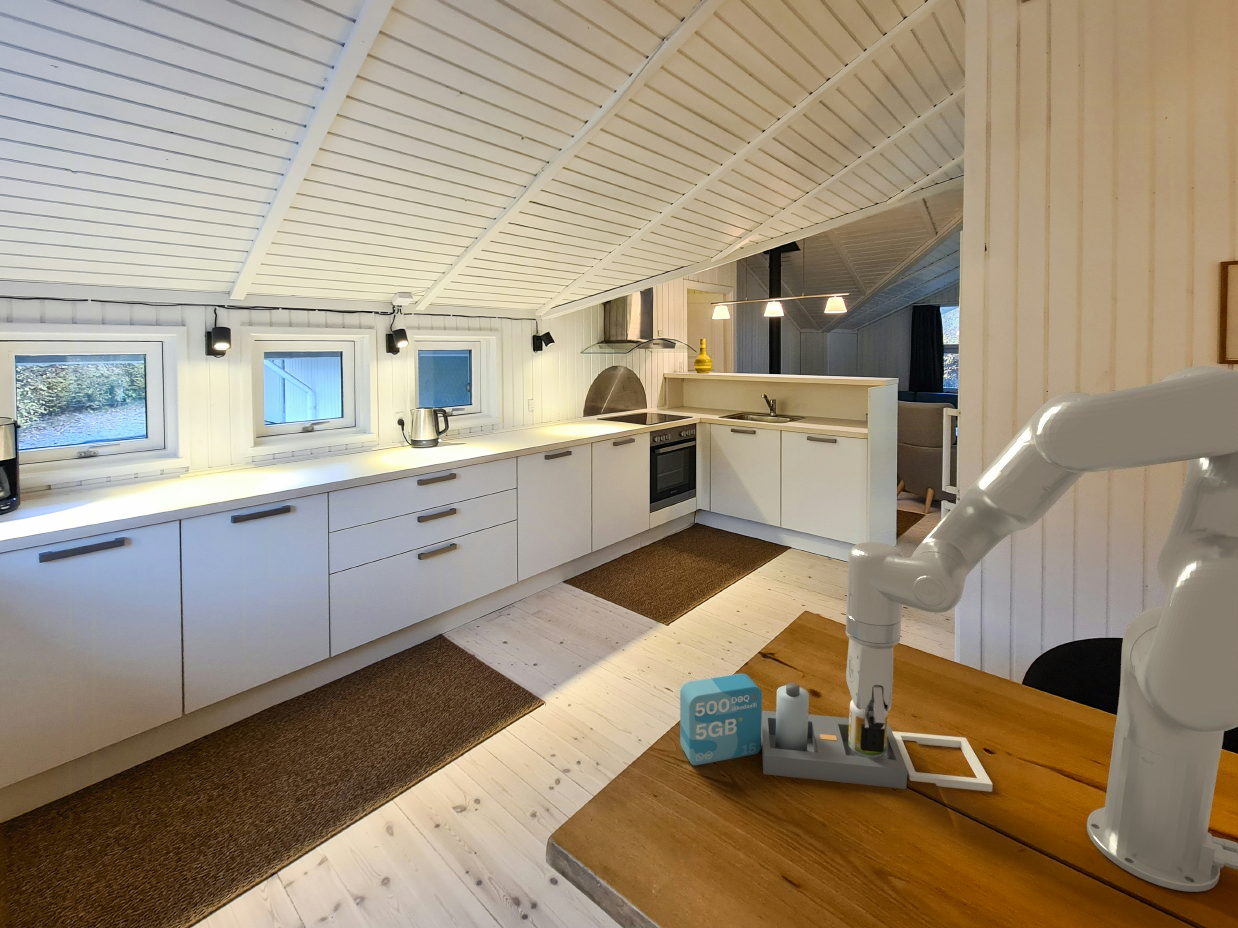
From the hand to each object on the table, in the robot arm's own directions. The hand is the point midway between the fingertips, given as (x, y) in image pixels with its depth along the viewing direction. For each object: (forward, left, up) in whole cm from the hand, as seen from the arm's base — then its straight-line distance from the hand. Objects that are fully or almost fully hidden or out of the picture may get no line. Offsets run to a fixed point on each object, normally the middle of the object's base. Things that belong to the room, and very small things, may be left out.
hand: (867, 736), depth 95 cm
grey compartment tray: (+5, +2, -4) cm, 7 cm away
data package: (+20, +9, -5) cm, 23 cm away
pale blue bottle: (+11, +4, -4) cm, 12 cm away
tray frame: (-10, -5, -4) cm, 12 cm away
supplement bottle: (0, 0, -2) cm, 2 cm away
